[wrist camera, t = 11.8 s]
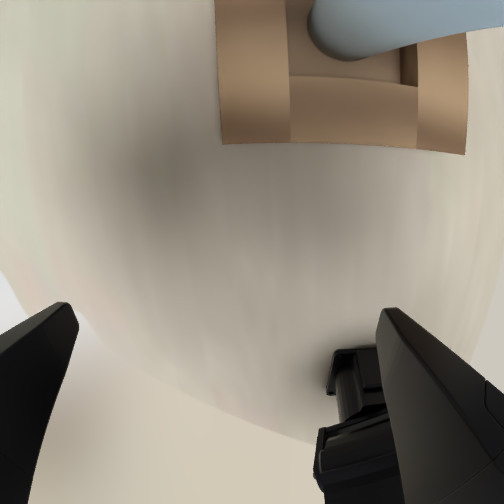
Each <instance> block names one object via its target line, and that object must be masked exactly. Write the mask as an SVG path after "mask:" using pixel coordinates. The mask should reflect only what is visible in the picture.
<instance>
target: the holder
mask: <svg viewBox="0 0 504 504" xmlns="http://www.w3.org/2000/svg"><path fill="white" fill-rule="evenodd" d="M214 1H215V24H216V45H217V63H218V81H219V98H220V114H221V129H222V144H243V143H284V142H303V143H344V144H364V145H379V146H392V147H403V148H413V149H422V150H430V151H438V152H446V153H453V154H460V155H465V146H466V135H467V119H468V55H467V40H466V32H464V33H458V34H453V35H448V36H444V37H439V38H435V39H431V40H427V41H422V42H419V43H415V44H411V45H407V46H404V47H400V48H397V49H393V50H390V51H386V52H383V53H380V54H377V55H374V56H370V57H367V58H364V59H361V60H358V61H352V62H346V61H340V60H336V59H333V58H331V57H329V56H327V55H325V54H324V53H322V52H321V51H320V50H319V49H318V48H317V47H316V46H315V45H314V43H313V42H312V40H311V39H310V36H309V34H308V30H307V17H308V14H309V12H310V10H311V8H312V6H313V4H314V2H315V0H214Z"/></svg>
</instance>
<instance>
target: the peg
mask: <svg viewBox="0 0 504 504" xmlns="http://www.w3.org/2000/svg"><path fill="white" fill-rule="evenodd" d="M503 26H504V0H315V2H314V4H313V6H312V8H311V10H310V12H309V14H308V17H307V30H308V34H309V36H310V39H311V40H312V42H313V43H314V45H315V46H316V47H317V48H318V49H319V50H320V51H321V52H322V53H324V54H325V55H327V56H329V57H331V58H333V59H336V60H340V61H346V62H352V61H358V60H361V59H364V58H367V57H370V56H374V55H377V54H380V53H383V52H386V51H390V50H393V49H397V48H400V47H404V46H407V45H411V44H415V43H419V42H422V41H427V40H431V39H435V38H439V37H444V36H448V35H453V34H458V33H464V32H469V31H475V30H481V29H488V28H495V27H503Z"/></svg>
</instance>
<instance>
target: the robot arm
mask: <svg viewBox="0 0 504 504" xmlns="http://www.w3.org/2000/svg"><path fill="white" fill-rule="evenodd" d="M78 331H79V323H78V321H77V318H76V316H75V314H74V311H73V309H72V307H71V305H70V304H69V303H67V302H57V303H55V304H53V305H51V306H49V307H48V308H46V309H44V310H42V311H41V312H39V313H37V314H35V315H34V316H32V317H30V318H28V319H27V320H25V321H23V322H22V323H20V324H18V325H16V326H15V327H13V328H11V329H10V330H8V331H6V332H5V333H3V334H1V335H0V504H28V500H29V495H30V490H31V485H32V481H33V475H34V472H35V468H36V464H37V460H38V456H39V453H40V449H41V445H42V442H43V439H44V435H45V432H46V428H47V425H48V422H49V419H50V416H51V413H52V410H53V407H54V404H55V401H56V398H57V396H58V393H59V390H60V387H61V384H62V382H63V379H64V377H65V374H66V371H67V368H68V364H69V361H70V357H71V354H72V351H73V347H74V344H75V341H76V338H77V335H78ZM376 345H377V348H371V349H356V350H339V351H336V352H335V353H334V354H333V360H332V365H331V370H330V374H329V379H328V384H327V388H326V393H327V395H329V396H333V395H336V397H337V405H338V412H339V420H340V423H339V424H336V425H333V426H329V427H323V428H319V432H318V437H317V444H316V452H315V460H314V466H313V471H314V473H313V477H314V479H316V480H317V483H318V486H319V488H320V489H321V491H322V492H323V493H324V499H325V504H504V394H503V393H502V392H501V391H500V390H498V389H497V388H496V387H495V386H494V385H492V384H491V383H490V382H489V381H488V380H486V381H485V378H484V377H483V376H482V375H480V374H479V373H478V372H477V371H476V370H475V369H473V368H472V367H471V366H470V365H469V364H467V363H466V362H465V361H464V360H463V359H461V358H460V357H459V356H458V355H457V354H455V353H454V352H453V351H452V350H450V349H449V348H448V347H447V346H445V345H444V344H443V343H442V342H441V341H439V340H438V339H437V338H436V337H434V336H433V335H432V334H431V333H429V332H428V331H427V330H425V329H424V328H423V327H422V326H420V325H419V324H418V323H417V322H415V321H414V320H413V319H412V318H410V317H409V316H408V315H406V314H405V313H404V312H403V311H401V310H400V309H398V308H396V307H393V308H384V309H382V311H381V314H380V318H379V322H378V326H377V329H376Z"/></svg>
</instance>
